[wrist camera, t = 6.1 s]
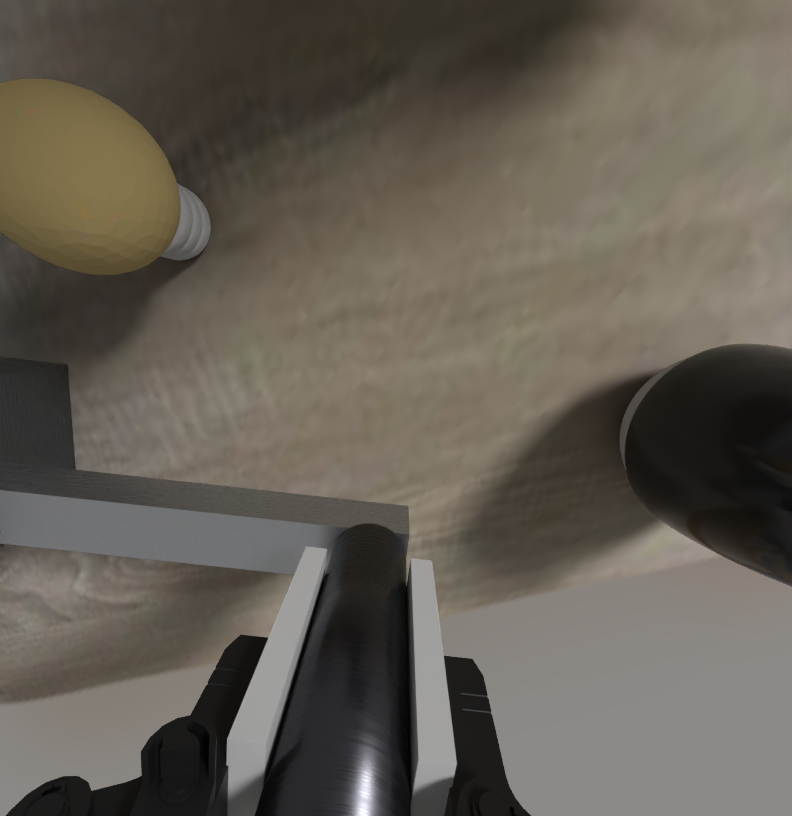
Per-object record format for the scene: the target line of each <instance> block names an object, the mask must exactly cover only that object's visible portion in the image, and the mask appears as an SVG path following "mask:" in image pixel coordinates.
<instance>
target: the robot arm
mask: <svg viewBox="0 0 792 816" xmlns="http://www.w3.org/2000/svg"><path fill="white" fill-rule="evenodd" d="M326 557H327V549H325V548H316V547H307V546H306V548H305V550H304V552H303V555H302V557H301V560H300V562H299V565H298V567H297V570H296V572H295V574H294V577H293V579H292V582H291V584H290V587H289V589H288V592H287V594H286V596H285V599H284V601H283V604H282V606H281V609H280V611H279V613H278V616H277V618H276V621H275V623H274V626H273V628H272V631H271V633H270V635H269V638H266V637H256V636H247V635H240V636H239V637H238V638H236V639H235V640H234V641H233V642H232V643H231V644H230V645H229V646H228V647H227V648H226V649H225V650H224V652H223V654H222V656H221V658H220V660H219V662H218V664H217V666H216V669H215V670H214V671H213V673H212V675H211V677H210V679H209V681H208V685H206V687H205V689H204V690H203V692H202V694H201V697H200V698H199V700H198V702H197V704H196V706H195V708H194V710H193V711H192V713H191V715H190V716H186V717H181V718H177V719H175V720H173V721H171V722H169V723H167V724H165V725H164V726H162V727H161V728H160V729H159V730H158V731H157V732H156V733H154V734H153V735H152V736H151V737H150V738H149V740H148V742H147V743H146V745H145V746H144V748H143V749H142V751H141V768H142V776H141V777H139V778H137V779H134V780H131V781H128V782H126V783H121V784H117V785H114V786H110V787H106V788H102V789H98V790H94V791H91V789H90V786H89V783H88V782H87V781H85V780H84V779H82V778H80V777H78V776H64V777H60V778H57V779H55V780H52V781H49V782H46V783H45V784H43V785H41V786H40V787H38V788H37V789H35V790H33V791H32V792H30V793H29V794H27V795H26V796H25V797H24V798H23V799H22V800H21V801H20V802H19V803H18V804H17V805H16V806H15V807H14V808H13V809H11V810H10V811H9V813H8V814H7V815H6V816H255V813H256V809H257V806H258V802H259V799H260V796H261V792H262V789H263V786H264V782H265V779H266V775H267V772H268V769H269V765H270V762H271V758H272V755H273V752H274V748H275V745H276V741H277V738H278V734H279V731H280V728H281V724H282V721H283V717H284V714H285V711H286V707H287V704H288V700H289V697H290V693H291V690H292V687H293V683H294V680H295V676H296V673H297V670H298V666H299V663H300V659H301V656H302V652H303V649H304V646H305V642H306V639H307V635H308V632H309V629H310V625H311V622H312V618H313V615H314V611H315V608H316V605H317V601H318V598H319V594H320V591H321V588H322V584H323V581H324V577H325V568H326ZM407 636H408V690H409V744H410V799H411V816H531V815H530V814H529V813H527V812H526V811H525V810H524V809H523V807H522V806H521V805H520V804H519V802H518V801H517V800H516V798H515V797H514V795H513V793H512V791H511V789H510V787H509V784H508V781H507V778H506V775H505V770H504V766H503V761H502V757H501V753H500V748H499V744H498V739H497V735H496V730H495V726H494V722H493V718H492V715H491V708H490V704H489V699H488V698H487V691H486V686H485V682H484V677H483V675H482V673H481V672H480V670H479V669H478V667H477V665H476V664H475V662H474V661H473V659H468V658H458V657H450V656H444V655H443V647H442V639H441V630H440V622H439V614H438V606H437V598H436V590H435V582H434V574H433V565H432V561H430V560H422V559H413V558H411V561H410V568H409V575H408V582H407Z"/></svg>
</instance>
